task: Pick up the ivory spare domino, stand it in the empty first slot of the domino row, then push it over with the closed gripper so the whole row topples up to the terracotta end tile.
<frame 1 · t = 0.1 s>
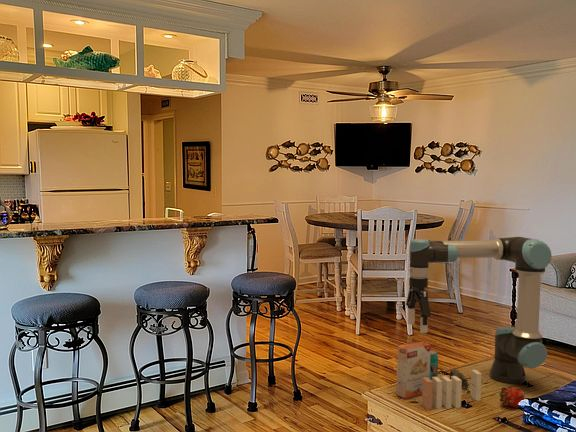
hand: (417, 328, 225), 28 cm above the table, fingers open, 13 cm apart
cracker box: (413, 394, 227), on the table
spare domino: (475, 398, 224), on the table
rhino figurine: (459, 386, 238), on the table
domino 5: (426, 406, 215), on the table
beverage can: (430, 386, 237), on the table
domino 4: (436, 406, 215), on the table
dragon fruit: (512, 406, 217), on the table
domino 2: (455, 405, 217), on the table
domino 3: (446, 405, 216), on the table
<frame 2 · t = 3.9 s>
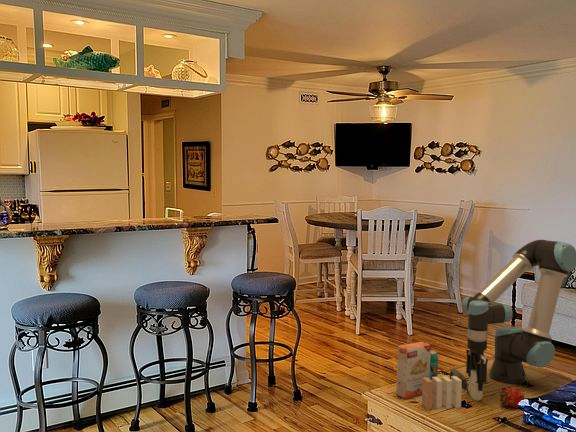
hand: (475, 394, 224), 1 cm above the table, fingers closed on spare domino, 5 cm apart
spare domino: (475, 398, 224), on the table, touching gripper
everything else where it was.
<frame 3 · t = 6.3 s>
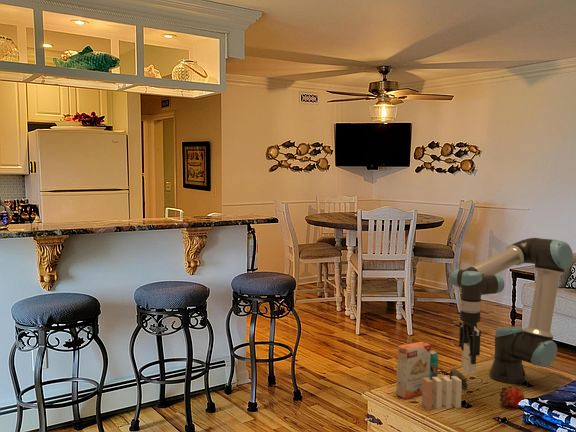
hand: (468, 368, 216), 15 cm above the table, fingers closed on spare domino, 5 cm apart
spare domino: (468, 372, 216), point 13 cm above the table, touching gripper
everything else where it was.
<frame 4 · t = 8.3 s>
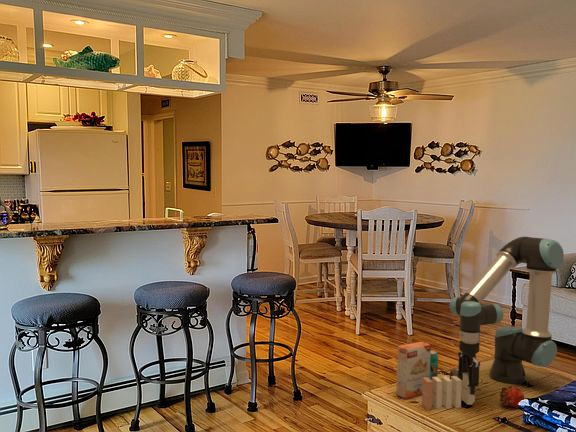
hand: (467, 398, 217), 2 cm above the table, fingers closed on spare domino, 5 cm apart
spare domino: (467, 402, 217), point 1 cm above the table, touching gripper
everything else where it was.
when the fingers open (2 cm above the table, at t = 8.7 s): spare domino stays where it is, on the table.
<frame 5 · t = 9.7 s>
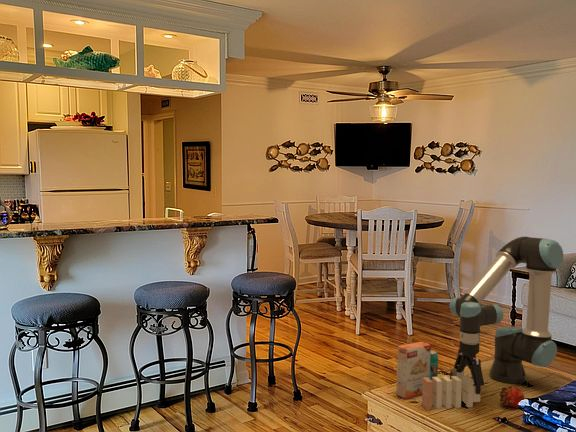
hand: (467, 394, 217), 4 cm above the table, fingers open, 13 cm apart
spare domino: (467, 404, 217), on the table
everything else where it was.
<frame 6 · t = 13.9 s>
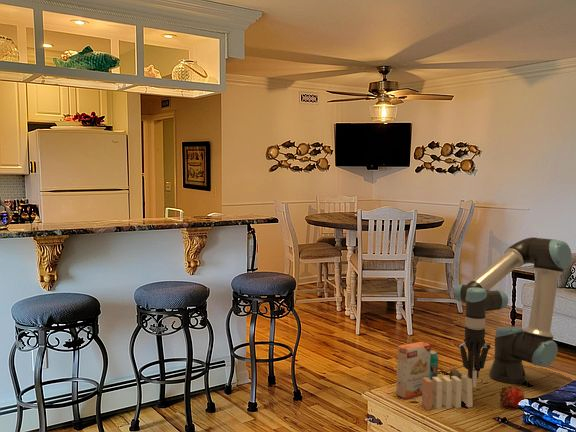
hand: (472, 385, 217), 8 cm above the table, fingers closed
nothing on the table moved.
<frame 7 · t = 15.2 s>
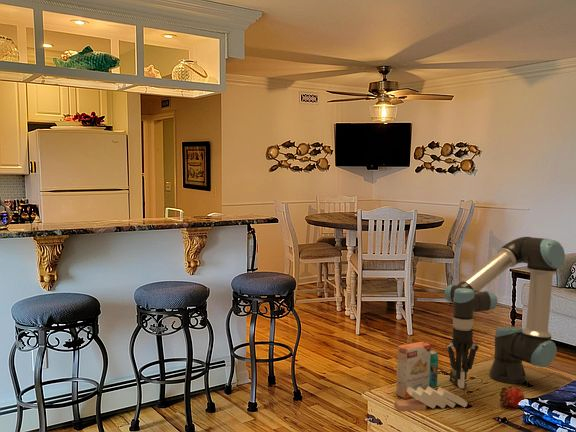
hand: (460, 386, 216), 7 cm above the table, fingers closed
spare domino: (463, 402, 217), point 1 cm above the table, tilted 62°, touching domino 2
domino 5: (423, 404, 214), point 1 cm above the table, tilted 90°, touching domino 4
domino 4: (432, 404, 215), point 1 cm above the table, tilted 59°, touching domino 3, domino 5
domino 2: (451, 403, 216), point 1 cm above the table, tilted 59°, touching domino 3, spare domino
domino 3: (442, 403, 216), point 1 cm above the table, tilted 59°, touching domino 2, domino 4
everything else where it was.
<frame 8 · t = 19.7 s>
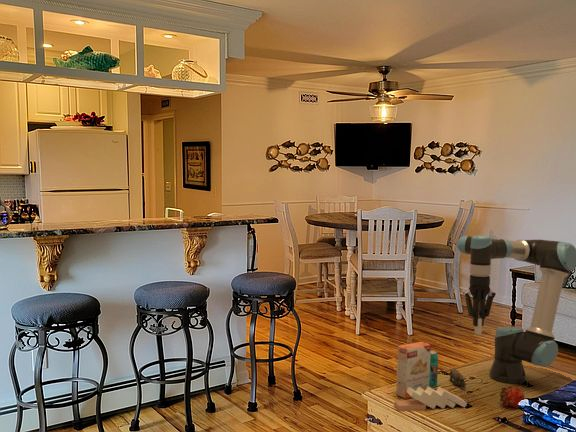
hand: (478, 334, 216), 28 cm above the table, fingers closed
nothing on the table moved.
at the end: domino 5 tilted 90°; spare domino inside the target area (0.1 cm from its centre), point 0.8 cm above the table; the gripper is holding nothing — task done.
